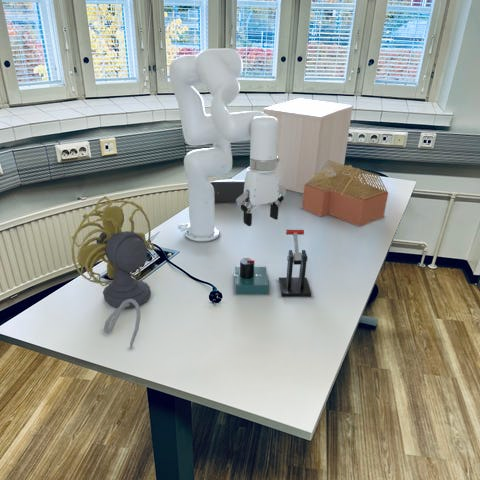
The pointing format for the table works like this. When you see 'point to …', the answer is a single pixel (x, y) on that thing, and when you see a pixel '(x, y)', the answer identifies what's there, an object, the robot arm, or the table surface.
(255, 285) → the dial panel
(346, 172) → the house
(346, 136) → the cabinet
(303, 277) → the black upright frame
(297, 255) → the toaster lever
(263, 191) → the robot arm
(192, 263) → the table surface
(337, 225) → the table surface
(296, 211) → the table surface
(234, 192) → the leaning round-cornered charcoal block
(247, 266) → the knob
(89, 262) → the electric fan
